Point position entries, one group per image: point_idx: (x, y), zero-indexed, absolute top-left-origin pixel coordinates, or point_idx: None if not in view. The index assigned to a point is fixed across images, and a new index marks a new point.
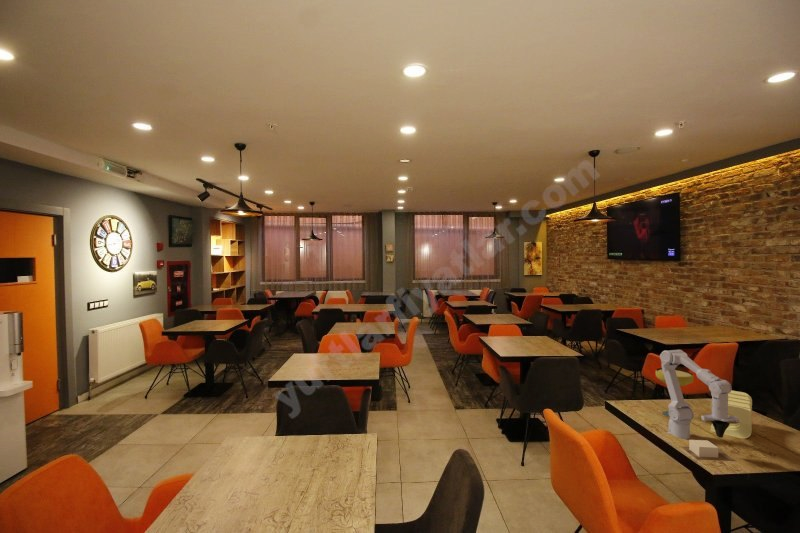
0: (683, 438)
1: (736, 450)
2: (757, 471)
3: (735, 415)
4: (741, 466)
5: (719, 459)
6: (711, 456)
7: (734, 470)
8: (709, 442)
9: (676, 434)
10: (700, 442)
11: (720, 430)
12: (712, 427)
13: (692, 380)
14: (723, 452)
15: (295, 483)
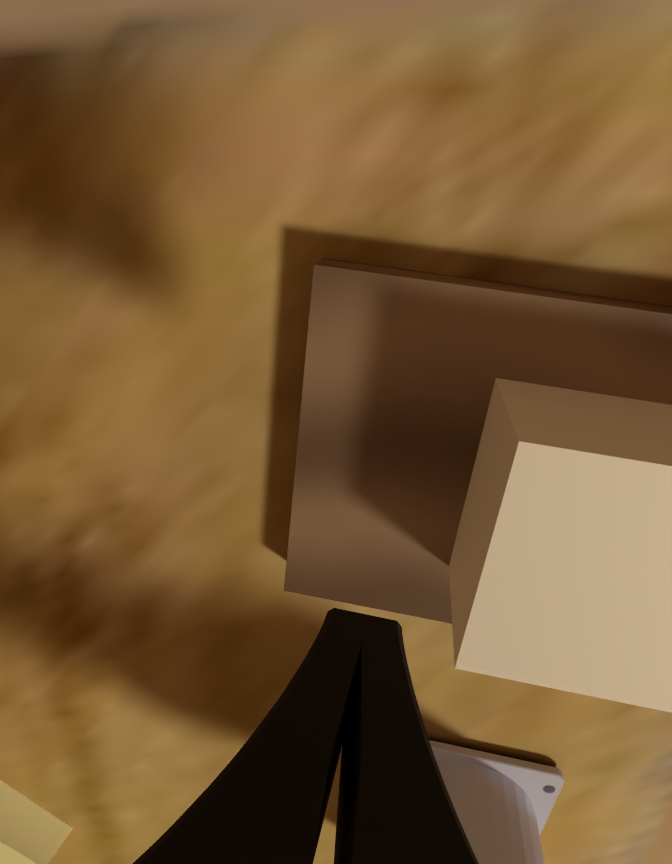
0: (493, 792)
1: (74, 552)
2: (175, 44)
3: None
4: (293, 202)
5: (531, 324)
6: (597, 397)
7: (504, 76)
8: (492, 615)
9: (542, 858)
10: (664, 635)
11: (402, 790)
12: (36, 861)
13: None
14: (295, 493)
15: None
